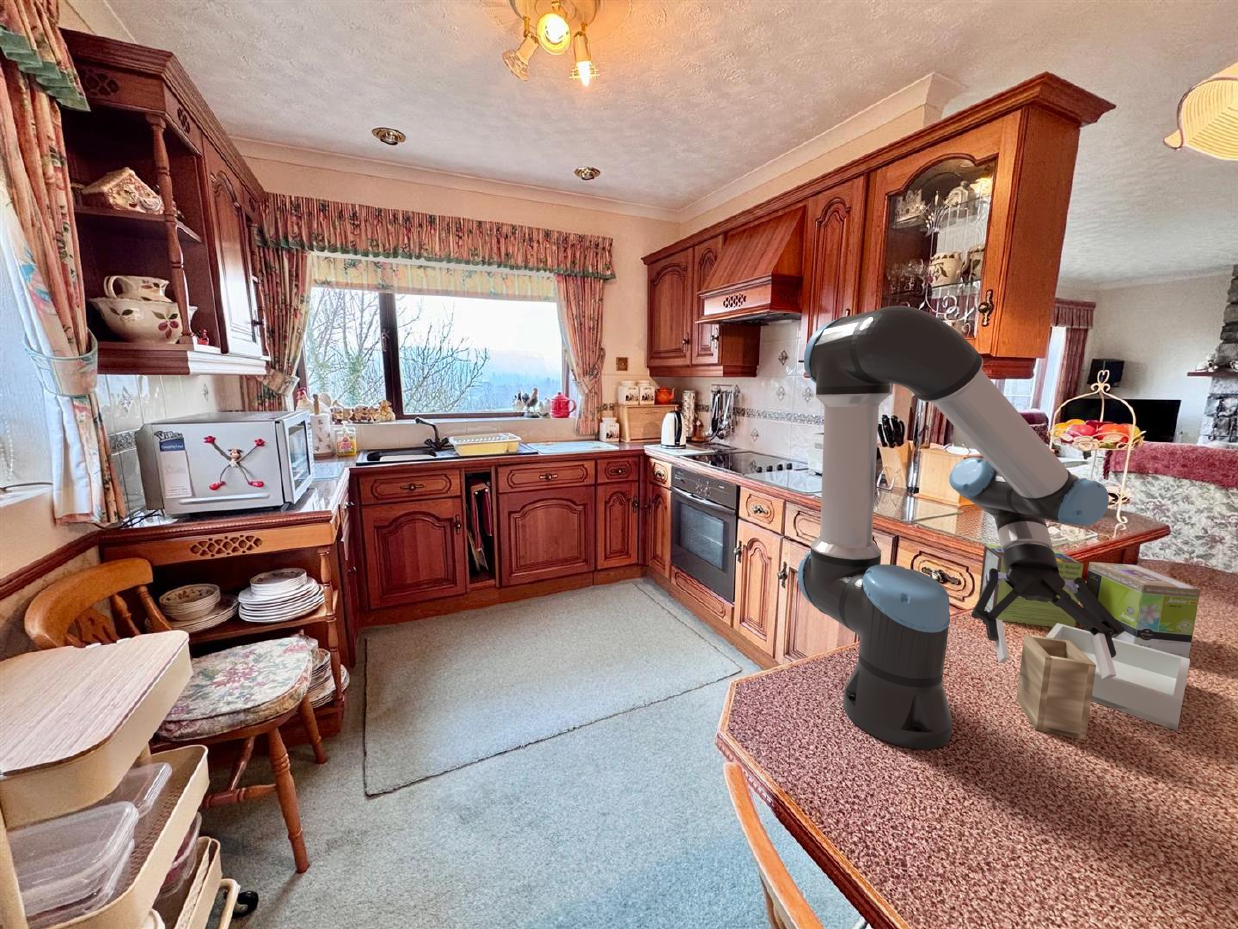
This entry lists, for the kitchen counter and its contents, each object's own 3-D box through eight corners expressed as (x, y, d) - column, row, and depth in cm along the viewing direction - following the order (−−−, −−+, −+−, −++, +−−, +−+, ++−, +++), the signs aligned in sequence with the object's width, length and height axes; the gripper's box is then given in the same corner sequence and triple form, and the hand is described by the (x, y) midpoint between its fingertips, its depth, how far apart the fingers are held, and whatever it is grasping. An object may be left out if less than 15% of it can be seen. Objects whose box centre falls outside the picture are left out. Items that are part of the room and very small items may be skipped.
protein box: (1076, 630, 109) (1085, 563, 107) (994, 620, 113) (1001, 556, 111) (1051, 611, 119) (1059, 549, 117) (976, 603, 123) (983, 543, 121)
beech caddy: (1036, 730, 76) (1045, 657, 74) (1016, 700, 83) (1024, 634, 81) (1085, 740, 73) (1096, 665, 72) (1060, 709, 81) (1069, 640, 79)
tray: (1028, 679, 89) (1032, 653, 89) (1054, 645, 102) (1057, 623, 101) (1177, 731, 75) (1182, 701, 75) (1185, 685, 88) (1190, 659, 87)
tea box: (1191, 660, 97) (1204, 588, 95) (1131, 654, 99) (1142, 584, 97) (1129, 626, 111) (1139, 563, 109) (1078, 621, 113) (1086, 560, 111)
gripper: (1103, 569, 89) (1143, 691, 77) (943, 553, 98) (957, 660, 86) (1125, 549, 84) (1171, 678, 72) (953, 535, 92) (969, 646, 81)
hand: (1054, 669), depth 79 cm, fingers open, 13 cm apart
